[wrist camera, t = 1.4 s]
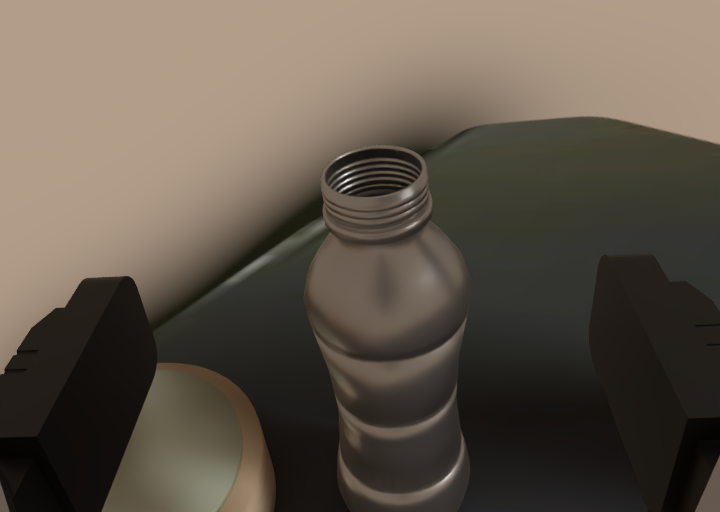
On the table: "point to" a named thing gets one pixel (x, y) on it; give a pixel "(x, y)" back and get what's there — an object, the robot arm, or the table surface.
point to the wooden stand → (194, 449)
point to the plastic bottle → (390, 333)
